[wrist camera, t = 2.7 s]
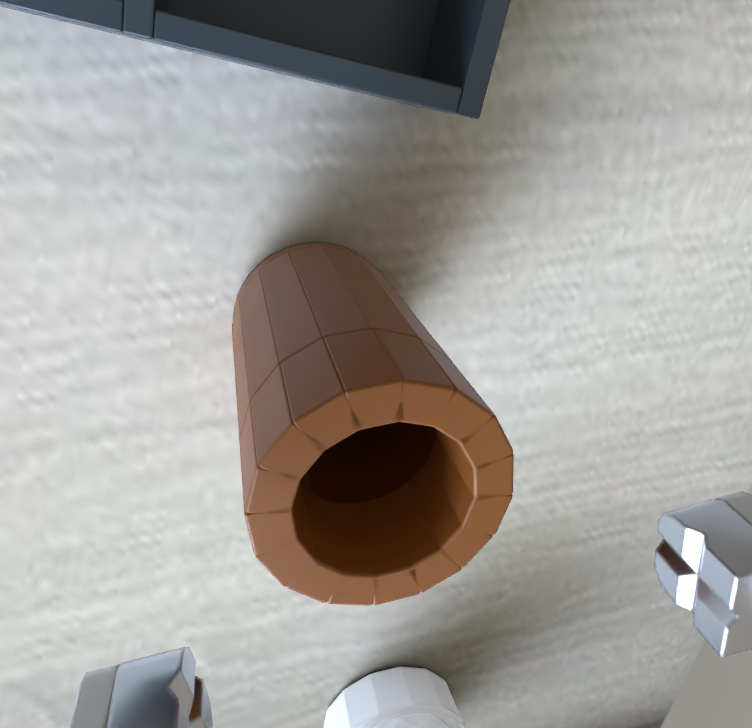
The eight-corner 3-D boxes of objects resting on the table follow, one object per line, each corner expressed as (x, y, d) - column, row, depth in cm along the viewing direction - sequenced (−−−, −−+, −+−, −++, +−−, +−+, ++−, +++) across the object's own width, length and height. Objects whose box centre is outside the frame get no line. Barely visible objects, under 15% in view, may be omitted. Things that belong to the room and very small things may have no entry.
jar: (199, 340, 20) (189, 550, 12) (297, 207, 19) (368, 327, 10) (329, 416, 23) (400, 635, 14) (423, 301, 22) (565, 463, 13)
